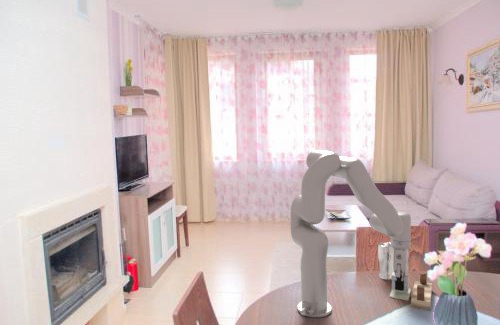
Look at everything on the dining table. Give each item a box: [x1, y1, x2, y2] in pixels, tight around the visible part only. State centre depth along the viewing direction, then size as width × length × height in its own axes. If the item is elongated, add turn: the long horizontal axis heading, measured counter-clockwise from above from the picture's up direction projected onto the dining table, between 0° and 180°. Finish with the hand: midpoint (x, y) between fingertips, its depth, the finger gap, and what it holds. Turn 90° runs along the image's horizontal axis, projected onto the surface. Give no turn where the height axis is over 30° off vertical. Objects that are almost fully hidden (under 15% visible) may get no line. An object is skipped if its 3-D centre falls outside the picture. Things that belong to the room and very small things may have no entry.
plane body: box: [410, 272, 433, 311], centre depth 151 cm, size 18×6×8 cm, turn 153°
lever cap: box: [391, 270, 410, 292], centre depth 155 cm, size 4×6×7 cm
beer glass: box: [377, 241, 394, 281], centre depth 172 cm, size 7×7×15 cm
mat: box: [389, 288, 412, 301], centre depth 156 cm, size 10×7×1 cm
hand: (400, 287), depth 155 cm, fingers closed on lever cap, 4 cm apart
